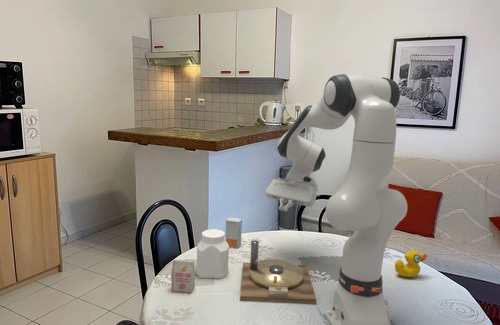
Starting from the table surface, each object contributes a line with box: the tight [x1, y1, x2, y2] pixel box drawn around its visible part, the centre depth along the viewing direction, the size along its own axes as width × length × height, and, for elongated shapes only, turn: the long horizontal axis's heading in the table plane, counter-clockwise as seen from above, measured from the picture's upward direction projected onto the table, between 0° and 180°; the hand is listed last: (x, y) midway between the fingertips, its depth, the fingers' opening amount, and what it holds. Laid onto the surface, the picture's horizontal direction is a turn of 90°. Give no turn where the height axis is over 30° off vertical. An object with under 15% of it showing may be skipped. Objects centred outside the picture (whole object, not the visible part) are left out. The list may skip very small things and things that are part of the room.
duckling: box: [394, 249, 427, 278], centre depth 134 cm, size 11×5×10 cm, turn 96°
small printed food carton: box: [171, 260, 196, 294], centre depth 118 cm, size 4×7×10 cm, turn 85°
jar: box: [196, 228, 230, 280], centre depth 131 cm, size 12×10×15 cm
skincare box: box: [225, 216, 243, 249], centre depth 155 cm, size 6×4×12 cm
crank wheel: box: [249, 239, 304, 289], centre depth 126 cm, size 19×19×12 cm
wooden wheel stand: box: [239, 262, 317, 305], centre depth 125 cm, size 24×24×4 cm
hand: (282, 210), depth 137 cm, fingers closed
